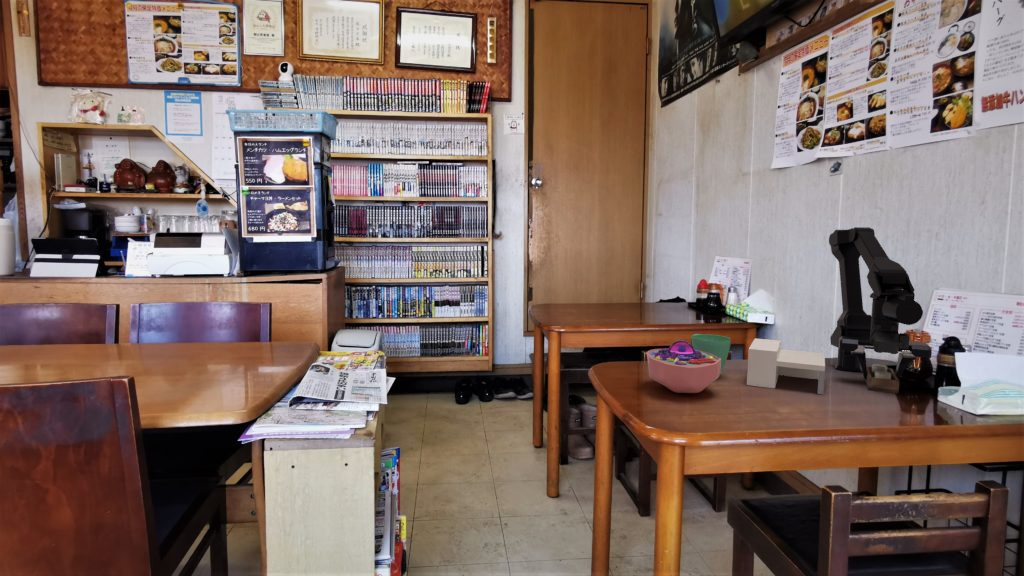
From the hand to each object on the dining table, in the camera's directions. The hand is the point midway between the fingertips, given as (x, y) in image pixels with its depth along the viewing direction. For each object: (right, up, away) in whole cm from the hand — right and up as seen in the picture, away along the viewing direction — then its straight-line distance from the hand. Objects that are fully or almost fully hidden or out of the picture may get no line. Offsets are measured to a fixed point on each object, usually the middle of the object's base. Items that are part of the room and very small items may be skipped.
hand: (880, 380), depth 139 cm
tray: (0, -1, 0) cm, 1 cm away
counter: (-23, -1, +2) cm, 23 cm away
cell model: (-51, -1, -6) cm, 52 cm away
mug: (-40, 0, +10) cm, 41 cm away
